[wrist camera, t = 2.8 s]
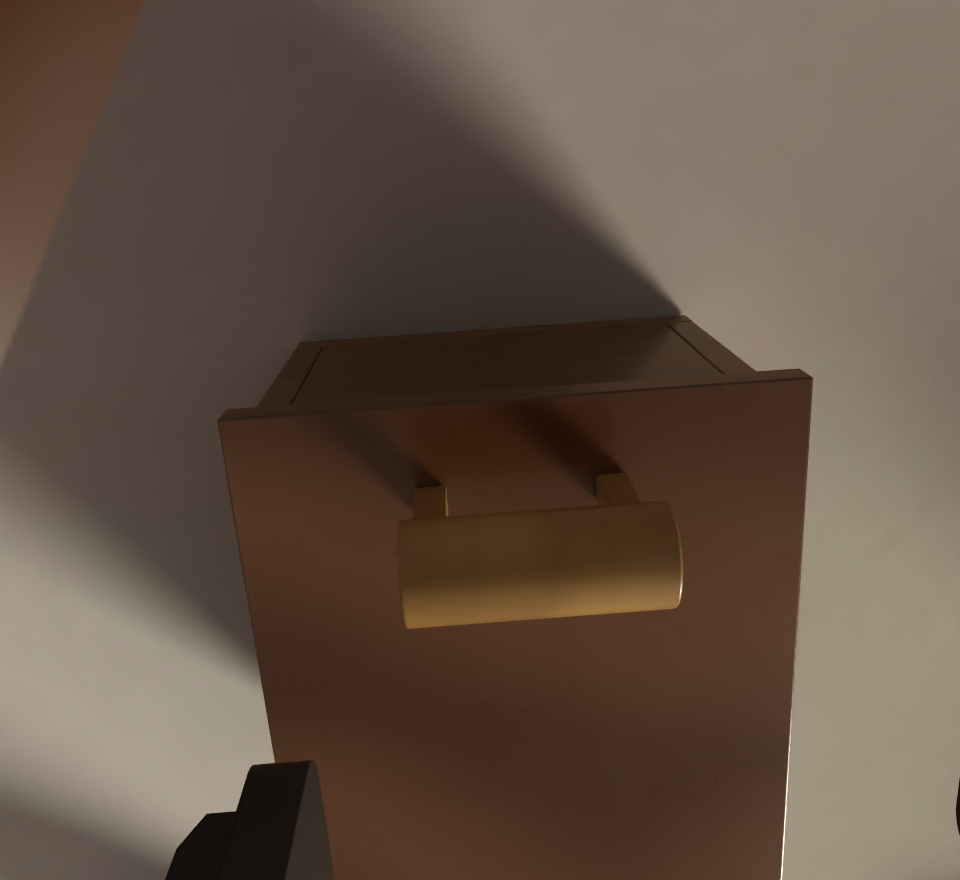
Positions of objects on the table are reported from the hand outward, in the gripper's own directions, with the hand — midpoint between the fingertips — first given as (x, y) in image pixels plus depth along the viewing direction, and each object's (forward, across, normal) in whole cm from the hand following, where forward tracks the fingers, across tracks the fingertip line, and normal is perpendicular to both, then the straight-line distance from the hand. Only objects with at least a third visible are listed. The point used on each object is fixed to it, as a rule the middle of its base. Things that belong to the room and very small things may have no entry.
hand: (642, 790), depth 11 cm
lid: (+10, +1, +6) cm, 12 cm away
